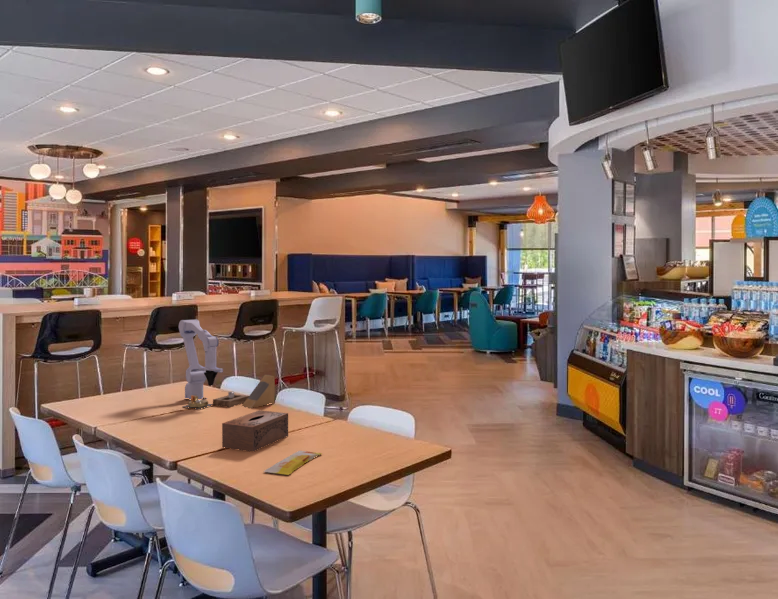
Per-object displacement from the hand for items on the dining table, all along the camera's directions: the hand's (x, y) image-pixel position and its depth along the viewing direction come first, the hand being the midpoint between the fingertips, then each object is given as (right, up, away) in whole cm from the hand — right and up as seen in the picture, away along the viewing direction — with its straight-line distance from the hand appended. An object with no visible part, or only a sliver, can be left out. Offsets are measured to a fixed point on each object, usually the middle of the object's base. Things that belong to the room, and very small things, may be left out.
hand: (210, 385), depth 325 cm
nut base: (-5, -10, -6) cm, 13 cm away
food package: (+59, -16, -99) cm, 117 cm away
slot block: (+10, -10, +2) cm, 14 cm away
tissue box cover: (+39, -14, -71) cm, 82 cm away
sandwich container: (+25, -11, -1) cm, 27 cm away
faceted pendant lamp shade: (-5, -9, -6) cm, 12 cm away
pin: (+10, -10, +2) cm, 14 cm away
